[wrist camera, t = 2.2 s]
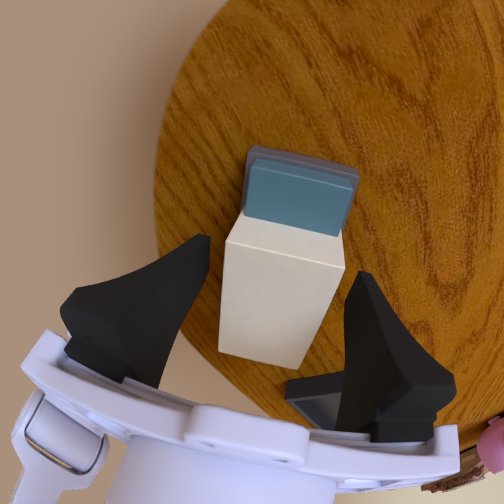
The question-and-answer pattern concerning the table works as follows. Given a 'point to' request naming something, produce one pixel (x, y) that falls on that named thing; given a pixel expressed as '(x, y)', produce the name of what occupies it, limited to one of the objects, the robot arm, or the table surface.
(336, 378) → the tray
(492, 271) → the table surface
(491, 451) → the teapot
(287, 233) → the toy truck
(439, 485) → the decorative box
